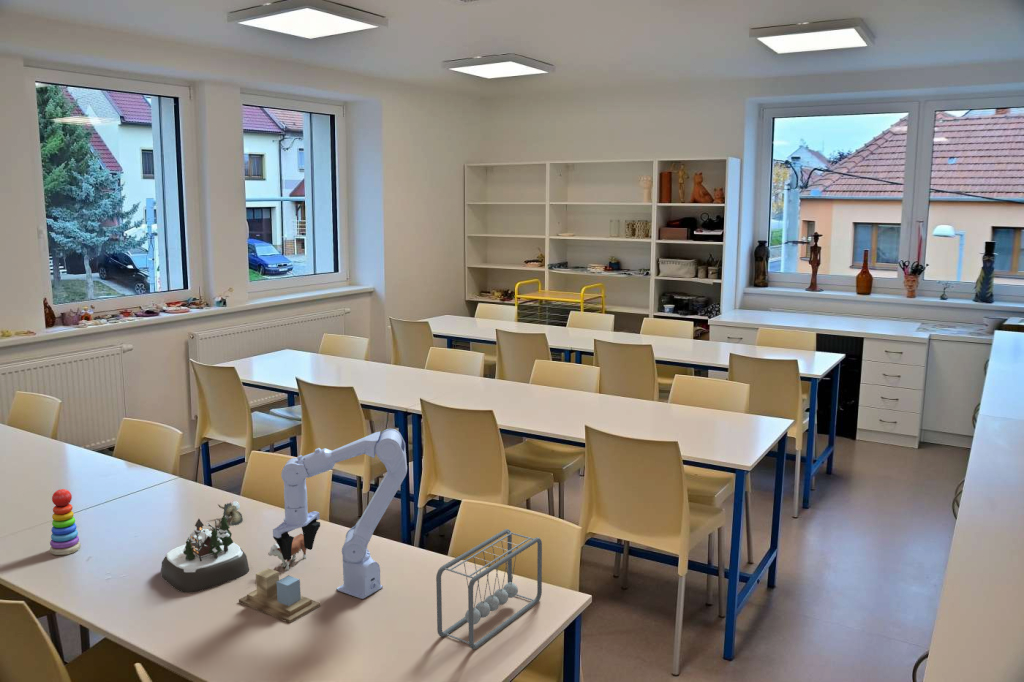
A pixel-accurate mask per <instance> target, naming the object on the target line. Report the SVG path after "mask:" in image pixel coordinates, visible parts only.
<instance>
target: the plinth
mask: <svg viewBox="0 0 1024 682" xmlns="http://www.w3.org/2000/svg"><path fill="white" fill-rule="evenodd" d="M238 603H240V604H242V605H244V606H247V607H249V608H252V609H254V610H256V611H259V612H261V613H265V614H266V615H269V616H272V617H274V618H276V619H279V620H281V621H284V622H286V623H289V624H291V623H293V622H295V621H297V620H298V619H300V618H301V617H303V616H305V615H307V614H309V613H311V612H312V611H314V610H315V609H317V608H319V607H321V602H319V601H316V600H314V599H311V598H309V597H306V596H304V595H301V600H299V601H297V602H295V603H294V604H292V605H290V606H287V605H284V604H282V603H279V602H278V599H277V593H276V594H274V595H272V596H271V597H269V598H266V597H264V596H261V595H258V594H257V589H255V590H253V591H251V592H249V593H247V594H246V595H245V596H243V597H241V598H238Z"/></svg>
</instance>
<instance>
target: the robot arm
mask: <svg viewBox="0 0 1024 682" xmlns="http://www.w3.org/2000/svg"><path fill="white" fill-rule="evenodd" d="M406 452H407V451H406V442H405V440H404V438H403V436H402V434H401V432H400V431H398V430H397V429H395V428H387V429H385V430H383V431H376V432H373V433H371V434H368V435H367V436H364V437H362V438H359V439H357V440H354V441H352V442H349V443H347V444H344V445H343V446H340V447H337V448H335V449H333V450H331V449H329V448H326V447H324V448H322V449H321V448H320V447H317V448H315V450H314V452H310V453H308V454H305V455H302V454H301V455H297V457H292V458H290V459H288V460H287V461H286V463H285V465H284V466H283V468H282V470H281V474H280V475H281V477H280V478H281V479H282V481H283V497H284V498H283V499H284V518H283V522H281V523H280V524H279V525H277V527H275V528H273V529H272V537H273V539H274V540H275V542H276V544H277V545H279V547H280V550H281V553H282V556H283V559H285V561H287V560H288V561H289V560H290V561H291V559H292V556H291V548H292V542H293V539H294V537H295V536H292V535H290V532H292V531H294V530H297V529H300V528H301V531H302V534H303V536H304V546H305V548H306V550H313V547H314V543H315V539H316V535H317V533H318V531H319V529H320V527H321V522H319V521H318V520H320V519H321V518H320V512H319V511H315V510H313V511H311V512H308V491H307V489H308V488H307V481H306V480H307V478H309V479H310V478H311V477H312V478H313V477H314V476H318V475H319V474H323V473H325V472H328V471H330V470H331V471H332V470H333V469H334V467H335V465H336V464H337V463H339V462H343V461H346V460H348V459H353V458H356V457H359V456H361V455H366V456H368V457H370V458H373V459H374V458H375V457H377V458H378V459H379V460H380V462H381V463H382V464H383V465H384V467H385V469H386V473H385V475H384V477H383V478H382V480H381V482H380V483H379V484H378V487H377V489H376V491H375V492H374V494H373V495H372V498H371V499H370V501H369V503H368V504H367V506H366V508H365V510H364V511H363V514H362V515H361V517H360V518H359V519H358V520H357V521H356V524H355V525H354V526H352V527H351V528H350V529H348V530H347V532H346V534H345V540H344V543H343V545H342V547H341V554H342V572H343V573H342V575H343V577H342V578H343V584H342V585H340V586H338V587H337V588H336V591H339V592H341V593H344V594H347V595H350V596H353V597H354V598H355V597H356V598H358V599H361V600H363V599H366V598H367V597H369V596H371V595H372V594H374V593H376V592H377V591H379V590H381V589H382V588H383V587H384V586H383V585H382V584H381V567H380V564H379V562H377V561H376V560H374V559H373V558H372V556H371V552H370V550H369V549H368V545H369V543H370V541H371V539H372V536H373V535H374V531H375V530H376V528H377V526H378V525H379V523H380V521H381V519H382V518H383V516H384V514H385V513H386V511H387V509H388V507H389V506H390V504H391V502H392V500H393V498H394V497H395V496H396V493H397V492H398V490H399V489H400V486H401V485H402V484H403V481H404V479H405V478H406V476H407V473H408V465H407V464H408V463H407V453H406Z"/></svg>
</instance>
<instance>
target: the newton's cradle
mask: <svg viewBox="0 0 1024 682" xmlns="http://www.w3.org/2000/svg"><path fill="white" fill-rule="evenodd" d="M512 535H514V536H517V537H521V538H525V540H523V541H522V542H520V543H518V544H516V543H513V541H512V540H513V539H512V538H513V536H512ZM505 539H507V541H505ZM503 541H504V542H505V543H507V548H504V545H503ZM527 541H528V542H527ZM500 542H501V547H499V546H496V545H497V544H498V543H500ZM536 543H537V544H536ZM535 544H536V545H537V559H536V561H537V562H536V563H537V566H536V568H537V572H536V573H537V576H536V577H537V581H536V583H537V592H536V593H537V594H536V597H535V598H534V599H533V598H529V597H526V596H524V595H521V594H518V592H519V590H518V586H517V585H516V583H514V582H513V578H514V573H515V572H514V571H515V565H516V562H514V564H513V559H514V561H516V560H517V556H518V555H520V554H521V553H522V552H524V551H525V550H527V549H528V548H531V546H533V545H535ZM513 545H516V546H514V547H513ZM519 546H520V547H519ZM491 547H492V552H493V553H491V552H487V551H486V550H488V549H490V548H491ZM494 547H496V548H500V549H502V552H503V554H501V555H497V554H495V549H494ZM481 549H482V550H481ZM479 550H480V551H479ZM513 550H514V551H513ZM505 551H506V552H505ZM481 553H483V558H484V559H483V558H478V557H476V556H479V554H481ZM485 553H487V554H490V555H493V558H494V559H493V560H492V561H489V560H486V558H485V557H486V556H485ZM472 554H473V555H472ZM470 555H471V556H470ZM496 556H497V557H496ZM467 557H468V558H467ZM475 558H476V559H478V560H482V561H484V565H483V566H482V567H479V566H476V559H475ZM471 559H473V562H474V565H473V564H470V563H467V562H468V561H470V560H471ZM486 562H488V563H487V564H486ZM462 564H463V566H464V571H465V572H464V573H462V572H459V571H456V570H454V569H456V568H458V567H459V566H461V565H462ZM491 564H492V565H491ZM504 564H505V569H504V575H503V578H505V576H506V574H507V583H505V584H504V582H505V579H503V581H502V587H501V588H500V581H499V575H498V572H499V567H501V566H502V565H504ZM466 565H470V566H472V567H475V571H474V572H472V573H470V574H469V575H468V574H467V570H466ZM481 570H482V571H481ZM494 570H495V571H496V574H495V575H496V576H495V578H494V579H495V580H494V586H493V590H492V591H493V593H492V592H491V588H490V582H489V574H490V573H491V572H493V571H494ZM445 571H449V572H451V573H455V574H457V575H461V576H463V577H465V578H466V584H467V589H468V590H467V594H468V595H467V596H468V597H467V598H468V605H467V606H468V609H467V610H466V611H465V615H464V617H463V618H461V619H459V620H458V621H456V622H455V623H454V624H453V625H451V626H450V627H448V628H446V629H445V630H443V614H442V613H443V606H442V603H443V602H442V600H443V599H442V576H443V573H444V572H445ZM478 572H479V573H478ZM542 575H543V542H542V539H541V538H540V537H535V538H532V537H530V536H525V535H521V534H518V533H514V532H512V531H511V530H510V529H509V528H505V529H503V530H502V531H500V532H498V533H496V534H494V535H493V536H492V537H490V538H487V539H486V540H484V541H483V542H481V543H480V544H478V545H476V546H474V547H473V548H470V549H469V550H467V551H466V552H463V553H462V554H460V555H459V556H457V557H455V558H453V559H452V560H450V561H448V562H447V563H445V564H443V565H442V566H441V567H440V568H439V569H438V570H437V573H436V579H435V580H436V623H437V625H436V626H437V629H436V630H437V631H436V632H437V634H438V636H439V637H441V638H445V637H447V636H448V637H450V638H453V639H455V640H457V641H461V642H463V643H465V644H468V645H469V648H471V650H477V649H478V648H479V647H481V646H482V645H483V644H485V643H486V642H488V641H489V640H490V639H492V638H493V637H494V636H496V635H497V634H498V633H499V632H500V631H503V630H504V629H505V628H506V627H507V626H508V625H510V624H512V623H513V622H514V621H515V620H517V619H518V618H519V617H521V616H522V615H524V613H526V612H527V611H529V610H530V609H532V608H533V607H534V606H536V605H537V604H538V603H539V602H540V600H541V597H542V594H543V593H542V591H543V586H542V585H543V581H542V580H543V576H542ZM485 576H486V578H487V579H486V582H487V583H486V586H485V588H487V587H488V588H489V589H488V590H489V595H488V596H487V597H486V594H487V589H485V590H484V596H483V601H482V595H481V590H480V584H479V583H480V579H482V578H483V577H485ZM468 578H469V579H470V581H468ZM476 582H477V586H476V593H475V600H474V585H475V583H476ZM496 582H497V583H498V588H499V589H497V590H495V588H496ZM478 591H479V598H480V601H479V602H477V603H476V601H477V595H478ZM514 597H520V598H523V599H525V600H528V601H530V602H529V603H527V604H526V605H525V606H524V607H522V608H521V609H519V610H518V611H516V612H515V613H514V614H513V615H511V616H509V618H507V619H506V620H505V621H503V622H502V623H501V624H499V625H498V626H497V627H496V628H494V629H492V630H491V631H490V632H488V633H487V634H486V635H484V636H483V637H482V638H481V639H479V640H477V641H476V642H475V640H474V639H475V636H474V635H475V634H474V631H475V630H474V627H475V626H474V625H476V624H478V623H479V622H480V621H481V618H482V619H483V618H487V617H488V616H489V615H490V612H495V611H497V609H499V606H500V605H501V606H503V605H504V604H507V602H508V600H509V599H513V598H514ZM474 603H476V604H474ZM466 622H467V623H468V641H467V640H464V639H462V638H460V637H456V636H454V635H453V634H452V635H451V634H450V633H452V632H453V631H455V630H457V628H459V627H461V626H462V625H463V624H465V623H466Z"/></svg>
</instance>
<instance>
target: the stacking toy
mask: <svg viewBox="0 0 1024 682" xmlns="http://www.w3.org/2000/svg"><path fill="white" fill-rule="evenodd" d="M72 496H73V495H72V492H71V491H70V490H68V489H66V488H62V489H58V490H56V491H55V492H53V494H52V496H51V500H52V503H53V505H55V506H53V508H52V512H53V514H52V516H51V518H52V521H51V525H52V527H51V536H50V541H49V544H50V548H49V552H50V554H52V555H55V556H65V555H70V554H73V553H75V552H78V551H79V550H80V548H81V545H82V544H81V542H80V536H78V535H79V531H78V529H77V524H76V517H74V515H75V513H74V512H73V505H72V504H71V501H72V499H73V497H72Z"/></svg>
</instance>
